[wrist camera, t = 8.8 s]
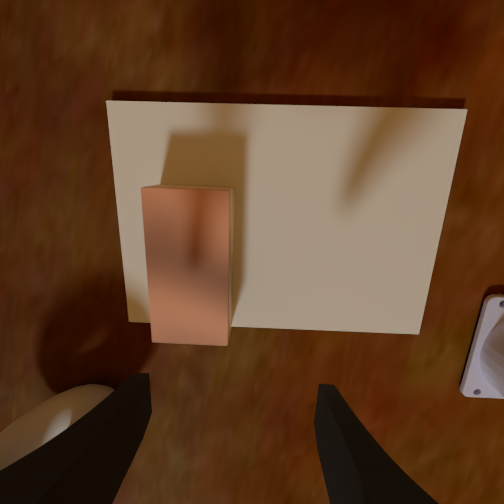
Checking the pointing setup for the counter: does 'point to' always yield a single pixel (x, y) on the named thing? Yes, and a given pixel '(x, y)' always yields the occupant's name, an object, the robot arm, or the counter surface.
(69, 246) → the counter surface
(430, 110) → the mat
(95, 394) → the donut
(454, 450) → the counter surface
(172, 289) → the pink and beige box
